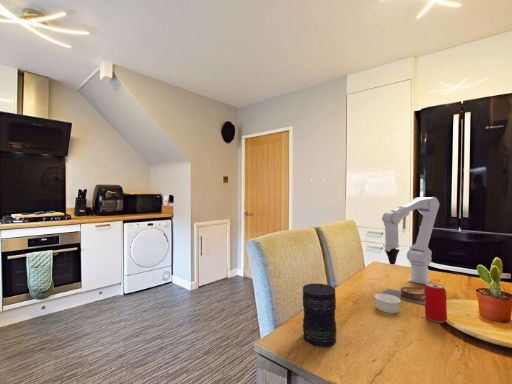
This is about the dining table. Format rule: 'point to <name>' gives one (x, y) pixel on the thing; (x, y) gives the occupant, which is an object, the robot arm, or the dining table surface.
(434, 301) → the beverage can
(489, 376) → the dining table surface
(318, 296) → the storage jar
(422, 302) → the mat
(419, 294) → the tin
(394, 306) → the ramekin
